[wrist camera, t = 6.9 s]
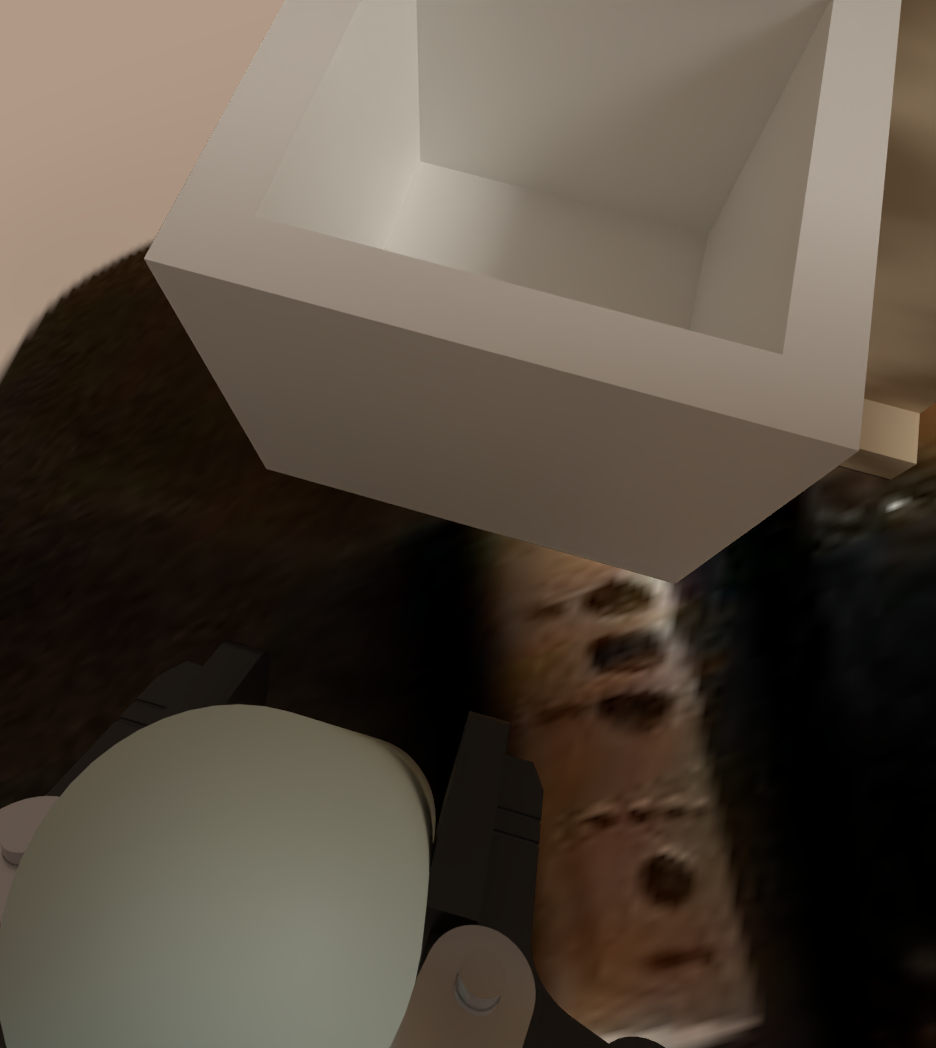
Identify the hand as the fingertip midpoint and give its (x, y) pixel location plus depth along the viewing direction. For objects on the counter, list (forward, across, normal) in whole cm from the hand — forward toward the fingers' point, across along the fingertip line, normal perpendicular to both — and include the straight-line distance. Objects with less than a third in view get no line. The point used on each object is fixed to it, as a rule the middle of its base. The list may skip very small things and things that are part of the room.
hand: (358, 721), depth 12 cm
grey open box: (+7, -1, -6) cm, 9 cm away
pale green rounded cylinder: (+2, 0, +5) cm, 5 cm away
